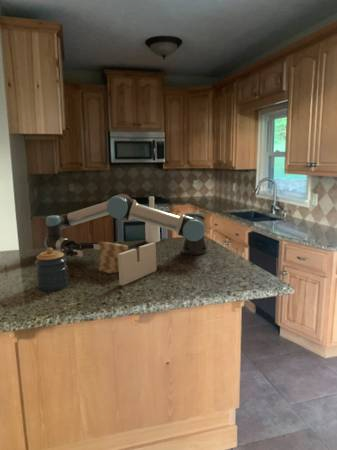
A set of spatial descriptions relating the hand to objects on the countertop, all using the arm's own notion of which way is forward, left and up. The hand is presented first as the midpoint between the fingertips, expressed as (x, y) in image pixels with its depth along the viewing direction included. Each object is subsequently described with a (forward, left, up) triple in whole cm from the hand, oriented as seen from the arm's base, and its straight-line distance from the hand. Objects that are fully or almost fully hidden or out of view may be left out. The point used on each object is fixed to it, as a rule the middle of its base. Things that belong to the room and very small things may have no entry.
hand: (92, 251), depth 176 cm
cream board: (-24, +18, -8) cm, 32 cm away
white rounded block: (-29, -52, -8) cm, 60 cm away
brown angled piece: (-12, +9, -8) cm, 17 cm away
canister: (+13, +27, -9) cm, 31 cm away
